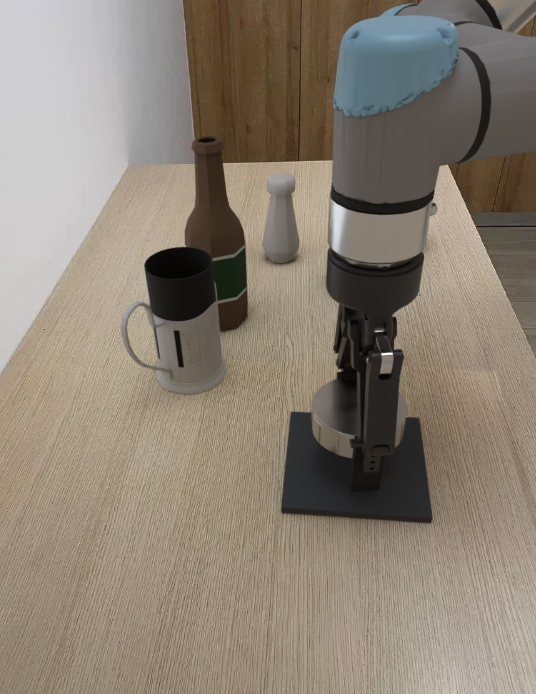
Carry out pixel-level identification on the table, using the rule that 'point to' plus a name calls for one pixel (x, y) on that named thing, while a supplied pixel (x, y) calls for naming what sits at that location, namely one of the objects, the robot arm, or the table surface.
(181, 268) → the glass holder
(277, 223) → the salt shaker
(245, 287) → the beer bottle
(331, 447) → the flask lid
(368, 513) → the mat
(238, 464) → the table surface
